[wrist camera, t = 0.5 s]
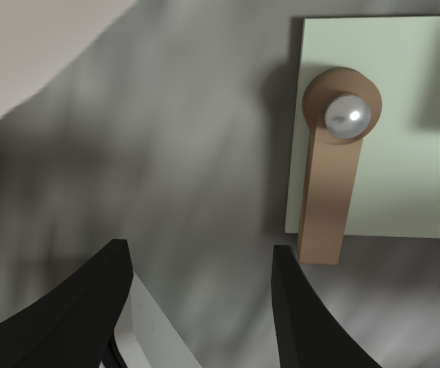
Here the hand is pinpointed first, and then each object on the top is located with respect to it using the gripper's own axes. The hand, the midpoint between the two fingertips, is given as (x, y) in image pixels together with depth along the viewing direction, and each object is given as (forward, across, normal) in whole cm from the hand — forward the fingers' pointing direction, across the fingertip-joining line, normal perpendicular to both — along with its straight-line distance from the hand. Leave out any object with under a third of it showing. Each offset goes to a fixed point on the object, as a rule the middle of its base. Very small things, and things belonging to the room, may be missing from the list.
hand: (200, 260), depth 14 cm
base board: (+8, -12, -2) cm, 14 cm away
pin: (+6, -6, -4) cm, 10 cm away
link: (+8, -6, 0) cm, 10 cm away
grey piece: (+9, +6, +16) cm, 19 cm away
